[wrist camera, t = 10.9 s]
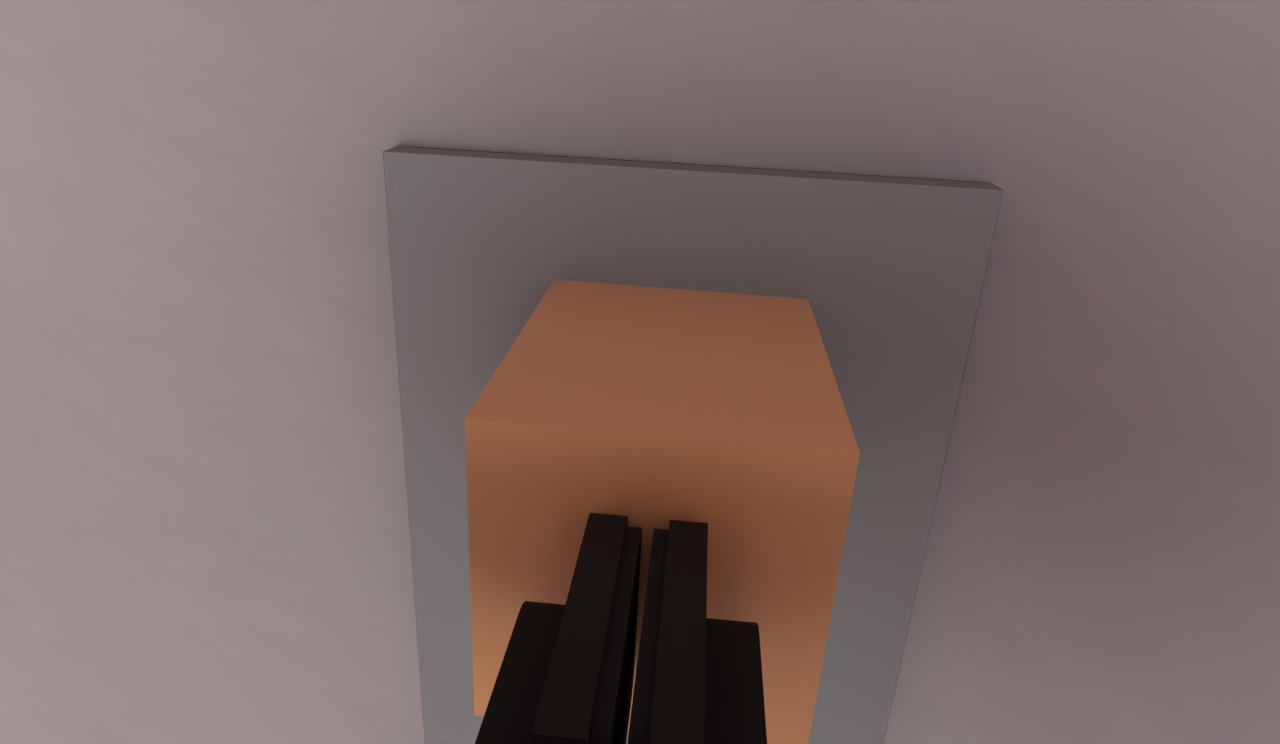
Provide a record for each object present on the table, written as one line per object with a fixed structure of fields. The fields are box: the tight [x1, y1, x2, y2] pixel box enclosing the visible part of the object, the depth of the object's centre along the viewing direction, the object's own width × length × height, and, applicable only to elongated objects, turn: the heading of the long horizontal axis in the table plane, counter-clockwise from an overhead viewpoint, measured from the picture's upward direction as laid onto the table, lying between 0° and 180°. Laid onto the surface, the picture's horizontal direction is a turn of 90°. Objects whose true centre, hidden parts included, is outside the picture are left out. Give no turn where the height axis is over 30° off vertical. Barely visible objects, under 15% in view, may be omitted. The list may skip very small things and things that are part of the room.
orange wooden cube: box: [465, 279, 860, 744], centre depth 15 cm, size 5×5×7 cm
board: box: [383, 146, 1003, 744], centre depth 21 cm, size 12×22×1 cm, turn 177°
